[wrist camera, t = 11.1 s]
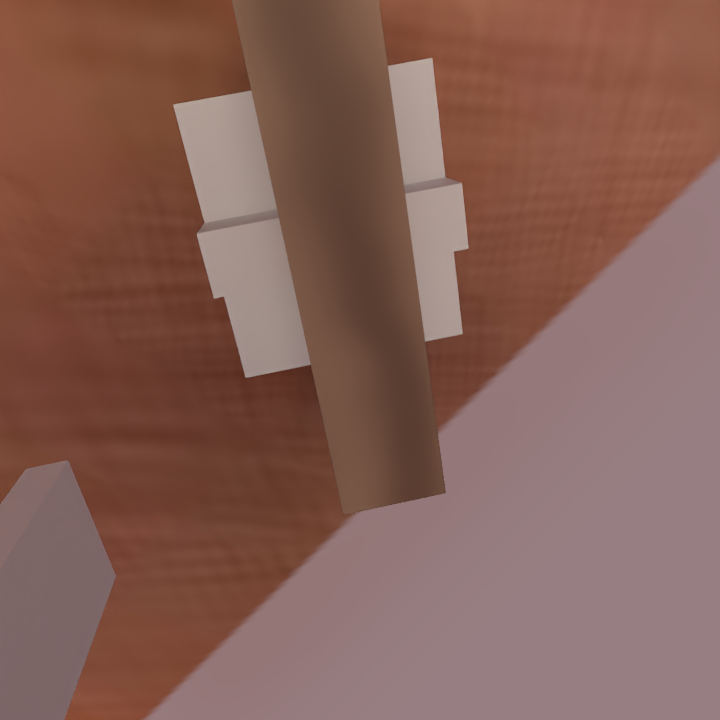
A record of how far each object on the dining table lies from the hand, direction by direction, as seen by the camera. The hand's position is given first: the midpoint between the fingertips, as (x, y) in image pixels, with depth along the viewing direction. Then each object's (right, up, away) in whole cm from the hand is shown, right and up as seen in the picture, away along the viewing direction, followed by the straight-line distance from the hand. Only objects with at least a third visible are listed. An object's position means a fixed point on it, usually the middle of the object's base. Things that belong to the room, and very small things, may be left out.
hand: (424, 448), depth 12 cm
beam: (-2, +7, +18) cm, 19 cm away
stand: (-3, +10, +24) cm, 26 cm away
